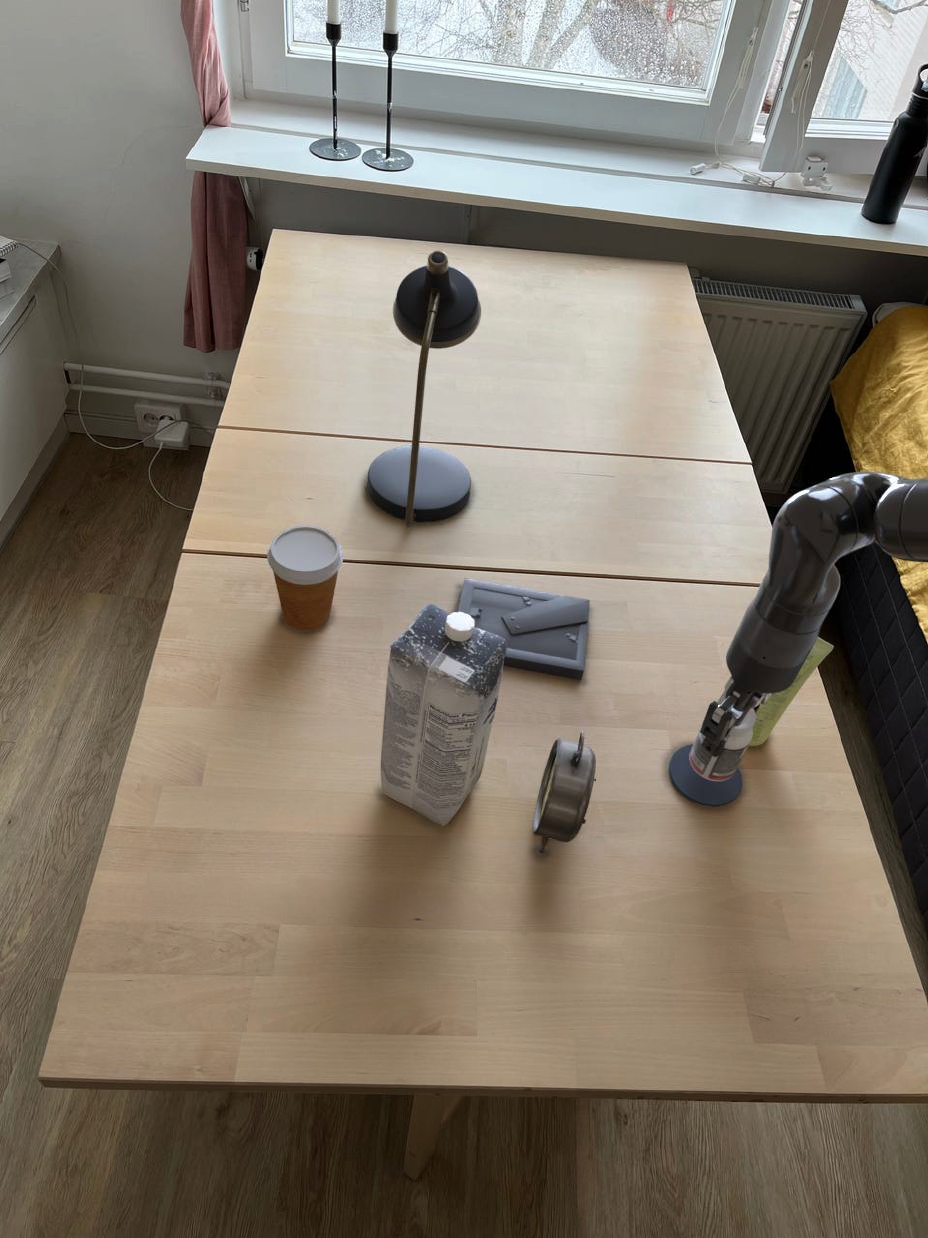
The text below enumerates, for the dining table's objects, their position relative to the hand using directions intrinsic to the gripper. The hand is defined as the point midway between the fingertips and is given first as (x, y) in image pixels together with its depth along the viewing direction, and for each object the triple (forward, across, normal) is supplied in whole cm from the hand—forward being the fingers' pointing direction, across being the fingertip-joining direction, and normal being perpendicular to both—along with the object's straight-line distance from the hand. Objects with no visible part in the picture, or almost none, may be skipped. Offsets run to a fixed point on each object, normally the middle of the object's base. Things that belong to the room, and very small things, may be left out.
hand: (725, 736), depth 113 cm
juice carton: (+8, -27, +21) cm, 35 cm away
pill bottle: (+6, 0, 0) cm, 6 cm away
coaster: (+8, 0, 0) cm, 8 cm away
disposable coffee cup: (+8, -20, +52) cm, 56 cm away
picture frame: (+8, 0, +31) cm, 32 cm away
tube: (+8, +10, 0) cm, 13 cm away
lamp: (+8, +9, +61) cm, 62 cm away
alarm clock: (+8, -19, +8) cm, 22 cm away
